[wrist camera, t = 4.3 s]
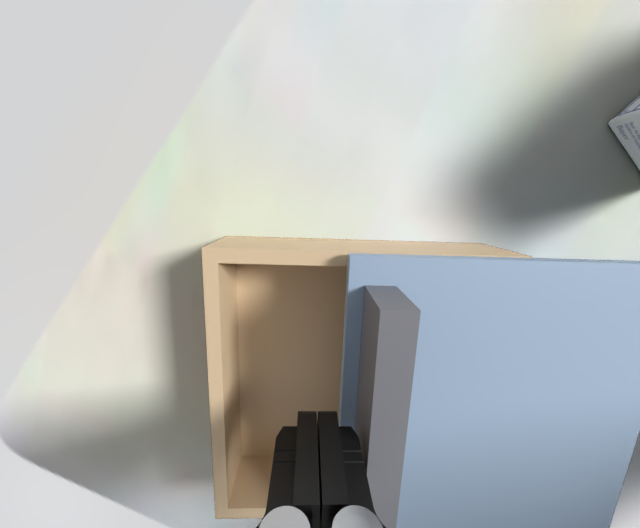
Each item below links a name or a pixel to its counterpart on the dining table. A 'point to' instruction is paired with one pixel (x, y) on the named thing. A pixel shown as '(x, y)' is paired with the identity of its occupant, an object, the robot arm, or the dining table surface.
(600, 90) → the dining table surface
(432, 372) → the lid
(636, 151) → the medicine box
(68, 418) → the dining table surface
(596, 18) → the dining table surface
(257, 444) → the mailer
